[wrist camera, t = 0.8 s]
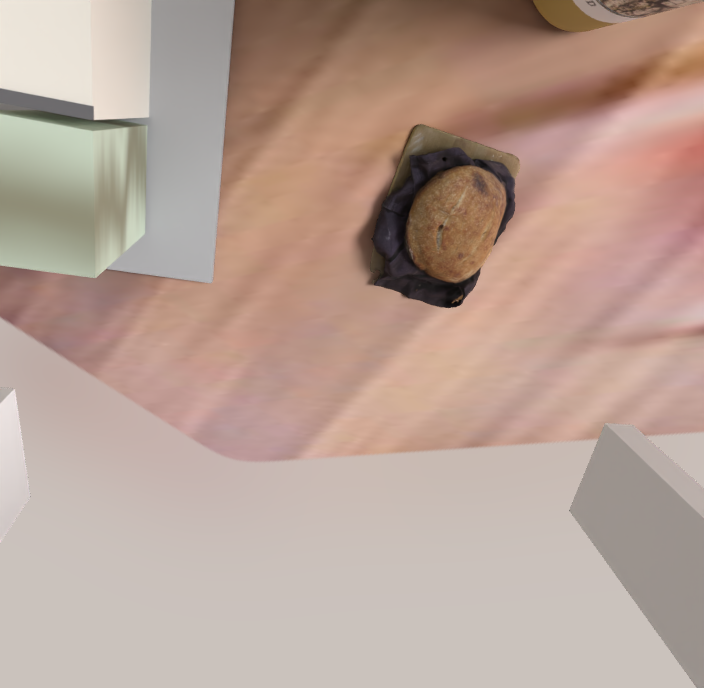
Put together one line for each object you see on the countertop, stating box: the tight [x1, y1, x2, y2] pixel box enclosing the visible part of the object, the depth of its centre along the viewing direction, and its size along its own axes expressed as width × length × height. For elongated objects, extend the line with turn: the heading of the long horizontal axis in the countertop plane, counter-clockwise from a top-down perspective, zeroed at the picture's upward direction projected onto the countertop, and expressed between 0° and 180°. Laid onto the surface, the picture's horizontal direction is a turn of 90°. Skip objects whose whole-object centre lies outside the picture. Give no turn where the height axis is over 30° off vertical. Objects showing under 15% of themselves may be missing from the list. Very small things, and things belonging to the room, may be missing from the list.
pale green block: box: [0, 110, 147, 278], centre depth 24 cm, size 6×4×9 cm, turn 169°
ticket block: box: [0, 0, 235, 283], centre depth 22 cm, size 24×12×10 cm, turn 169°
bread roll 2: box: [370, 124, 520, 308], centre depth 31 cm, size 11×8×4 cm
